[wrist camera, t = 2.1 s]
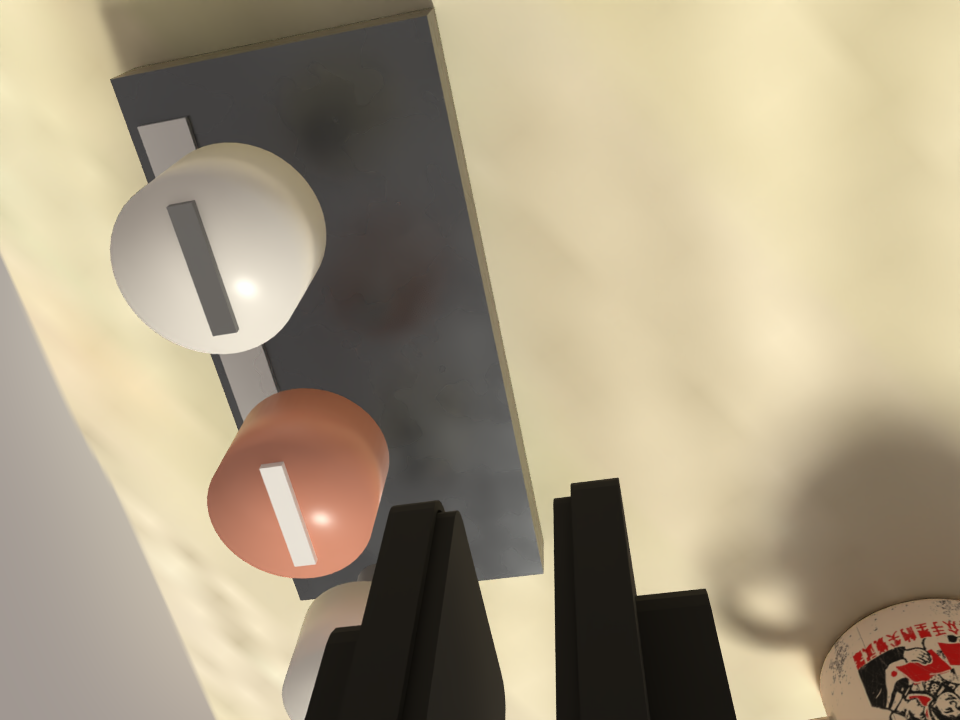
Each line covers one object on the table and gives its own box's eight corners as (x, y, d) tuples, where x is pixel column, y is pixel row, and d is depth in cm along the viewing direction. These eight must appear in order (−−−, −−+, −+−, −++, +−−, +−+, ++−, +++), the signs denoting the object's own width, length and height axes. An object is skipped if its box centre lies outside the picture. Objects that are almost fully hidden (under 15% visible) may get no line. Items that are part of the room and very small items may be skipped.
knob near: (165, 135, 25) (76, 196, 20) (320, 106, 24) (265, 161, 20) (217, 283, 27) (146, 369, 22) (361, 259, 26) (321, 343, 22)
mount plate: (135, 67, 30) (107, 80, 28) (434, 7, 29) (426, 16, 27) (311, 568, 39) (299, 603, 37) (543, 541, 38) (543, 576, 36)
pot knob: (243, 360, 28) (181, 458, 23) (381, 339, 28) (347, 436, 23) (284, 478, 30) (235, 591, 25) (414, 461, 29) (389, 574, 25)
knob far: (305, 541, 31) (261, 660, 26) (430, 525, 31) (410, 645, 26) (338, 637, 33) (303, 764, 28) (457, 625, 33) (443, 753, 28)
